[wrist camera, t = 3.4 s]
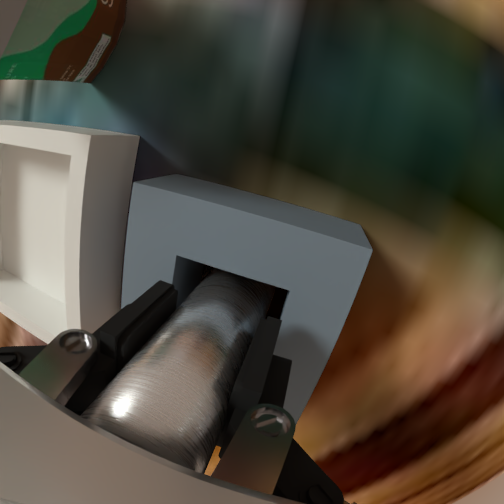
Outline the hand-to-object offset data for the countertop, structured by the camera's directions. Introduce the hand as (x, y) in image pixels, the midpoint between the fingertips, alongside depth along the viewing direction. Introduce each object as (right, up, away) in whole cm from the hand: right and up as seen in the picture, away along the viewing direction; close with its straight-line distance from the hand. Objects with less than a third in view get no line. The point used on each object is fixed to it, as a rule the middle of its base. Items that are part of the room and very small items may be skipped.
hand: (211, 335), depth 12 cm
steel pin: (+1, +1, +5) cm, 5 cm away
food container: (-8, +18, +2) cm, 20 cm away
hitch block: (+1, +1, +5) cm, 5 cm away
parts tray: (-11, +5, +6) cm, 14 cm away
